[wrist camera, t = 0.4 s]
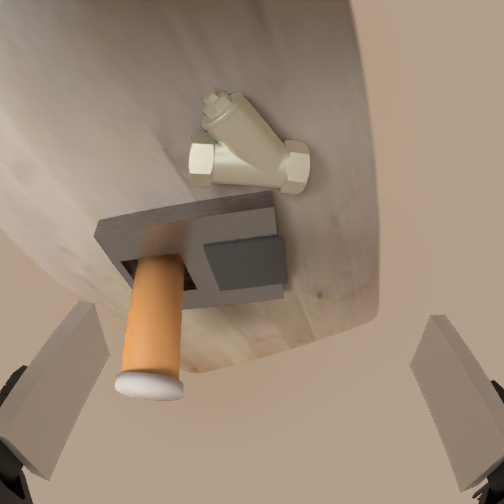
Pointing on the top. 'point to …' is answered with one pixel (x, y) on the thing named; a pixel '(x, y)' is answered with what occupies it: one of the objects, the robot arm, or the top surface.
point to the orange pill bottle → (154, 331)
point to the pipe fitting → (244, 149)
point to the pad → (248, 263)
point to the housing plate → (192, 242)
